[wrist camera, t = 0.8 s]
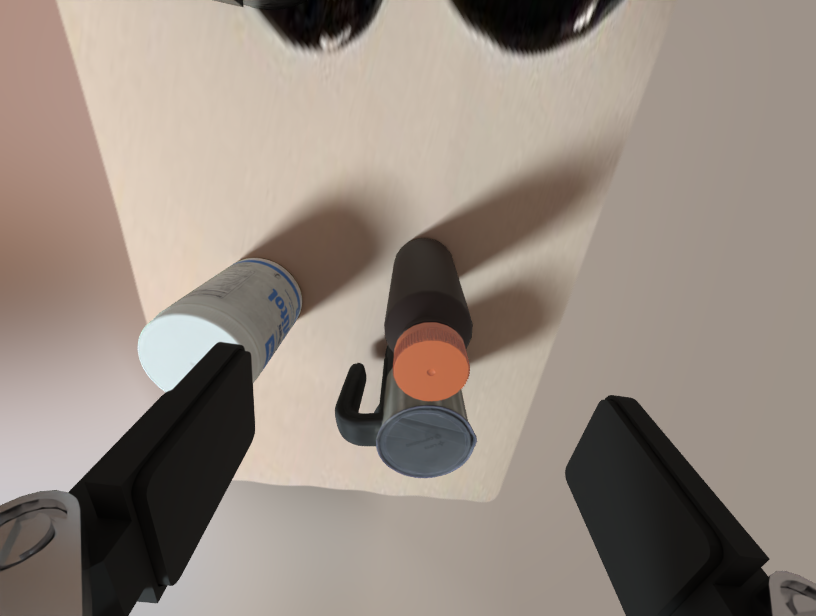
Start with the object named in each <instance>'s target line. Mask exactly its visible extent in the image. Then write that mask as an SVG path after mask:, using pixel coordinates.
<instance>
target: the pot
mask: <svg viewBox="0 0 816 616" xmlns="http://www.w3.org/2000/svg"><path fill="white" fill-rule="evenodd" d="M214 1H218V2H223V3H227V4H231V5H236V6H240V7H243V5H247V6H250V7H253V8H258V9H265V10H279V9H285V8H290V7H293V6H296V5H298V4H301V3H303V2H305V1H306V0H214Z"/></svg>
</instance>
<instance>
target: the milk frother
mask: <svg viewBox="0 0 816 616" xmlns="http://www.w3.org/2000/svg"><path fill="white" fill-rule="evenodd" d="M385 356H386V357H385V359H384V368H383V377H382V386H381V395H380V404H379V405H378V407H377V408H376V410H375V412H374V413H368V414H362V413H358V411H359V408H360V404H361V399H362V396H363V392H364V388H365V384H366V372H365V368H364V366H363V364H361V363H357V364H353V365H352V366H351V367H350V369H349V372H348V374H347V377H346V379H345V382H344V385H343V387H342V390H341V393H340V395H339V398H338V401H337V404H336V407H335V417H336V422H337V426H338V429H339V431H340V433H341V435H342V437H343V438H344V439H345V440H347V441H348V442H350V443H352V444H355V445H358V446H376V448H377V452H378V454H379V456H380V458H381V459H382V461H383V462H384V463H385V464H386V465H387V466H388V467H389V468H391V469H393V470H395V471H396V472H398V473H400V474H403V475H406V476H410V477H415V478H432V477H437V476H442V475H446V474H448V473H451V472H453V471H454V470H456V469H458V468H459V467H461V466H462V465H463V464H464V463H465V462H466V461H467V460H468V459H469V457H470V455H471V454H472V452H473V449H474V447H475V445H476V442H477V438H476V435H475V433H474V431H473V429H472V427H471V425H470V424H469V422H468V419H467V414H466V410H465V405H464V400H463V395H462V390H461V389H460V390H459V391H458V392H457V393H456V394H454V395H453V396H450V397H449V398H448V399H447V398H446V399H445V400H444V399H442V400H439V401H429V402H428V401H422V400H419V399H415V398H413V397H410V395H408V394H405V392H403V390H401V388H399V386H397V383H396V381H395V378H394V376H393V361H394V353H393V352H392V351H391V349H390V348H389V345H388V346H387V349H386V353H385Z"/></svg>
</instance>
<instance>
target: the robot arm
mask: <svg viewBox="0 0 816 616" xmlns="http://www.w3.org/2000/svg"><path fill="white" fill-rule="evenodd" d="M254 434H255V416H254V397H253V378H252V359H251V353H250V352H249V351H245V348H244V346H243V345H240V344H232V343H225V342H218V343H216V344H215V345H214V346H213V347H212V348H211V349H210V350H209V351H208V352H207V354H206V355H205V356H204V357H203V358H202V359H201V360H200V361H199V362H198V363H197V364H196V365H195V366H194V367H193V368H192V369H191V370H190V371H189V372H188V373H187V375H186V376H185V377H184V378H183V379H182V380H181V381H180V382H179V383H178V384H177V385H176V386H175V387H174V388H173V389H172V390H170V391H167V392H166V393H165V394H164V395H162V396H161V397H160V398H159V399H158V400H157V401H156V402H155V403H154V404H153V406H152V407H151V408H150V409H149V410H148V411H147V412H146V413H145V414H144V415H143V416H142V417H141V418H140V419H139V420H138V421H137V422H136V423H135V424H134V425H133V426H132V427H131V428H130V429H129V430H128V431H127V432H126V433H125V434H124V435H123V437H121V439H120V440H119V441H118V442H117V443H116V444H115V445H114V446H113V447H112V448H111V449H110V450H109V451H108V452H107V453H106V454H105V455H104V456H103V457H102V458H101V459H100V460H99V461H98V462H97V463H96V464H95V465H94V466H93V467H92V468H91V469H90V471H89V472H88V473H87V474H86V475H85V476H84V477H83V478H82V479H81V480H80V481H79V482H78V483H77V484H76V485H75V486H74V487H73V488H72V489H71V490H70V491H69V492H63V491H57V490H52V491H40V492H36V493H32V494H28V495H25V496H21V497H19V498H16V499H14V500H12V501H9V502H7V503H5V504H2V505H1V506H0V616H128V615H129V613H130V612H131V610H132V608H133V607H134V605H135V604H136V602H137V601H139V602H149V603H158V601H159V600H160V598H161V596H162V594H163V592H164V591H165V589H166V587H167V585H169V586H173V585H174V584H175V583H176V582H177V581H178V580H179V578H180V577H181V575H182V573H183V571H184V569H185V568H186V566H187V564H188V562H189V560H190V558H191V556H192V554H193V553H194V551H195V549H196V547H197V545H198V543H199V541H200V539H201V537H202V535H203V534H204V531H205V530H206V528H207V526H208V524H209V522H210V520H211V518H212V517H213V515H214V512H215V511H216V509H217V507H218V505H219V503H220V501H221V500H222V497H223V496H224V494H225V492H226V490H227V488H228V486H229V484H230V483H231V481H232V479H233V477H234V475H235V473H236V471H237V469H238V467H239V466H240V464H241V462H242V460H243V458H244V456H245V454H246V452H247V450H248V449H249V447H250V445H251V443H252V440H253V437H254ZM565 475H566V480H567V483H568V485H569V488H570V490H571V492H572V494H573V497H574V499H575V501H576V503H577V506H578V508H579V510H580V513H581V515H582V517H583V519H584V521H585V524H586V526H587V528H588V530H589V533H590V535H591V537H592V540H593V542H594V544H595V546H596V549H597V551H598V553H599V555H600V558H601V560H602V562H603V565H604V567H605V569H606V571H607V573H608V576H609V578H610V580H611V582H612V585H613V587H614V589H615V592H616V594H617V596H618V598H619V601H620V603H621V605H622V608H623V610H624V612H625V614H626V616H816V584H815V583H813V582H811V581H809V580H807V579H805V578H804V577H801V576H800V575H797V574H794V573H790V572H787V571H776V572H774V573H773V574H771V575H770V576H769V577H768V576H767V574H766V573H765V572H764V571H763V569H762V568H761V567H762V566H763V565H764V564H765V563H766V562H767V561H768V560H769V558H768V557H767V555H766V554H765V553H764V552H763V551H762V549H761V548H760V547H759V546H758V545H757V544H756V542H755V541H754V540H753V539H752V538H751V536H750V535H749V534H748V533H747V532H746V530H745V529H744V528H743V527H742V526H741V524H740V523H739V522H738V521H737V520H736V519H735V517H734V516H733V515H732V514H731V513H730V511H729V510H728V509H727V508H726V507H725V505H724V504H723V503H722V502H721V501H720V499H719V498H718V497H717V496H716V495H715V493H714V492H713V491H712V490H711V489H710V487H709V486H708V485H707V484H706V483H705V482H704V480H703V479H702V478H701V477H700V476H699V474H698V473H697V472H696V471H695V470H694V468H693V467H692V466H691V465H690V464H689V462H688V461H687V460H686V459H685V458H684V457H683V455H682V454H681V453H680V452H679V451H678V449H677V448H676V447H675V446H674V445H673V443H672V442H671V441H670V440H669V439H668V438H667V436H666V435H665V434H664V433H663V432H662V430H661V429H660V428H659V427H658V426H657V425H656V423H655V422H654V421H653V420H652V418H651V417H650V416H649V415H648V414H647V413H646V411H645V410H644V409H643V408H642V407H641V405H640V404H639V403H638V402H637V401H636V400H635V399H633V398H629V397H621V396H614V395H610V396H608V397H607V398H605V400H601V401H600V402H599V404H598V406H597V408H596V410H595V411H594V413H593V415H592V417H591V419H590V421H589V423H588V425H587V427H586V429H585V431H584V433H583V435H582V437H581V439H580V441H579V443H578V445H577V447H576V449H575V451H574V453H573V455H572V457H571V458H570V460H569V462H568V464H567V466H566V470H565Z"/></svg>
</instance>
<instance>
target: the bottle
mask: <svg viewBox="0 0 816 616" xmlns="http://www.w3.org/2000/svg"><path fill="white" fill-rule="evenodd" d="M384 326H385V338H386V341H387V343H388V345H389V348H390V349H391V351H392V352H393V353H394V361H393V376H394V378H395V381H396V383H397V386H399V388H401V390H403V392H405V394H408V395H410V397H413V398H415V399H419V400H422V401H428V402H429V401H439V400H442V399H444V400H445V399H446V398H447V399H448V398H449V397H450V396H453V395H454V394H456V393H457V392H458V391H459V390H460V389H461V388H462V387H463V386H464V384H466V381H467V379H468V376H469V374H470V372H469V371H470V364H469V360H468V356H467V352H466V348H467V346H468V344H469V342H470V340H471V338H472V326H473V324H472V320H471V317H470V314H469V310H468V307H467V304H466V301H465V297H464V294H463V291H462V288H461V285H460V281H459V278H458V275H457V272H456V268H455V265H454V262H453V259H452V256H451V253H450V252H449V251H448V249H447V248H446V247H445V246H444V245H443V244H441V243H440V242H438V241H436V240H433V239H429V238H419V239H416V240H413V241H410V242H408V243H407V244H406V245H404V246H403V247H402V248H401V249H400V251H399V252H398V253H397V255H396V258H395V262H394V266H393V273H392V279H391V285H390V292H389V298H388V304H387V311H386V317H385V324H384Z"/></svg>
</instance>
